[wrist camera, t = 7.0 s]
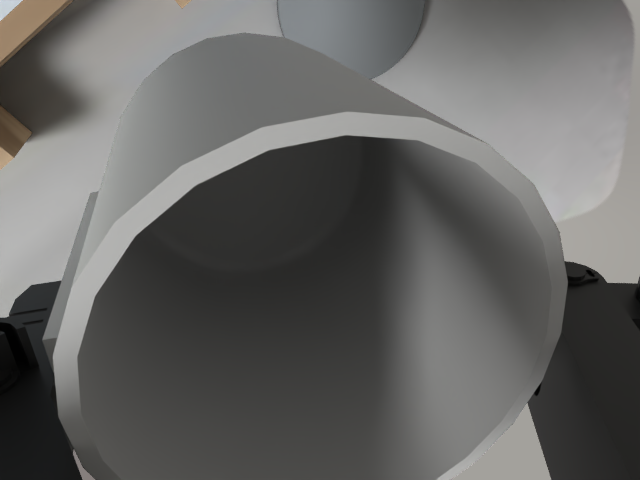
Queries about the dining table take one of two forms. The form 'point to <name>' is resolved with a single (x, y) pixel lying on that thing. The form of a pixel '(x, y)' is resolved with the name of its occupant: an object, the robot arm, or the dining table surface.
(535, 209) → the cup
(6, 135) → the wooden brackets
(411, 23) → the coaster
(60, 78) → the dining table surface
